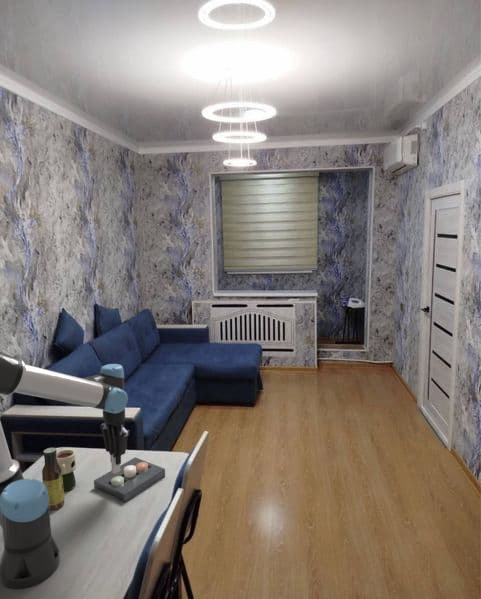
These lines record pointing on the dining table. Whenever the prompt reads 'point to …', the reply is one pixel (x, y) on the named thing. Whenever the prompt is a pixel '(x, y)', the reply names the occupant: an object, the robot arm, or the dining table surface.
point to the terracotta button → (142, 466)
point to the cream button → (130, 471)
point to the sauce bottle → (53, 479)
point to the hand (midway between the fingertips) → (116, 471)
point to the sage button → (117, 481)
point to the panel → (129, 481)
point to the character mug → (67, 467)
